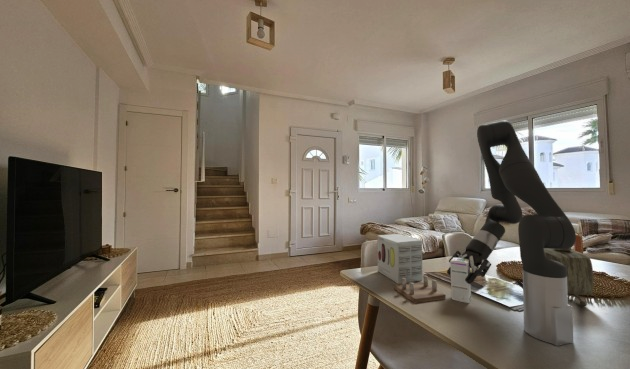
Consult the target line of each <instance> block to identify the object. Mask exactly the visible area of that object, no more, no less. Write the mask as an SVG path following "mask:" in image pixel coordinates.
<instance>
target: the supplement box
mask: <svg viewBox="0 0 630 369" xmlns="http://www.w3.org/2000/svg"><path fill="white" fill-rule="evenodd" d="M376 236H377V238H376V239H377V272H379V274H381V275H383V276H385V277H387V278H388V279H389V280H392V281H393V282H394V283H396V284H397V285H401V284H402V278H406V284H409V283H410V282H412V283H416V282H419V281H420V282H421V281H424V280H423V276H424V275H423V240H422V239H419V238H415V237H412V236H408V235H405V234H400V233H392V234H380V235H379V234H377V235H376Z"/></svg>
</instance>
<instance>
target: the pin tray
mask: <svg viewBox="0 0 630 369" xmlns="http://www.w3.org/2000/svg"><path fill="white" fill-rule="evenodd" d="M422 281H423V282H421V281H420V282H408V283H406V278H402V283H401V284H396V285H394V290H395V291H397V292H398V293H399V294H401V295H403V296H404V297H406V299H409V301H411V302H413V303H414V304H417V303H425V302H433V301H439V300H440V301H441V300H446V299H447V298H446V296H447V295H446V294H445V293H443V292H441V291H439V290H438V289H437V288H438V287H437V284H438V282H437V280H436V279H431V285H432V286H431V285H429V277H428V275H423V280H422Z"/></svg>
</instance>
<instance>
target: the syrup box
mask: <svg viewBox="0 0 630 369" xmlns="http://www.w3.org/2000/svg"><path fill="white" fill-rule="evenodd" d="M450 259H451V258H450ZM449 263H450V264H449V268H451V276H450V290H451V291H450V293H451V294H450V295H451V300H454V301H458V302H460V303H464V304H470V302H471V299H472V290H471V288H472V286H471V285H472V283H471V284H468V283H467V282H466V281H465V279H466V277H467V276H468V275H469V273H470V272H471V268H470V266H469V259H464V258H454V257H453V259H451V261H450V262H449Z"/></svg>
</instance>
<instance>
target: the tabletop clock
mask: <svg viewBox="0 0 630 369" xmlns="http://www.w3.org/2000/svg"><path fill="white" fill-rule="evenodd" d="M544 254H545V256H546V257H547V258H548V259H551V260H554V261H557V262H560V263H562V264H564V265H565V266H566V268H567V292H568V295H569V294H570V295H571V294H572V295H574V297H575V298H576V299H577V300H579V305H581V307H586V306H587V305H588V304H587V302H585V301H583V300H582V299H581V297H580V295H585V296H586V295H587V296H589V295H590V296H591V295H592V293H593V291H594V270H593V264H592V261H591V258H590V256H588V255H587V254H584V253H583V252H579V251H577V250H573V249H572V247H570V248H566V249H549V248H544Z"/></svg>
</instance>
